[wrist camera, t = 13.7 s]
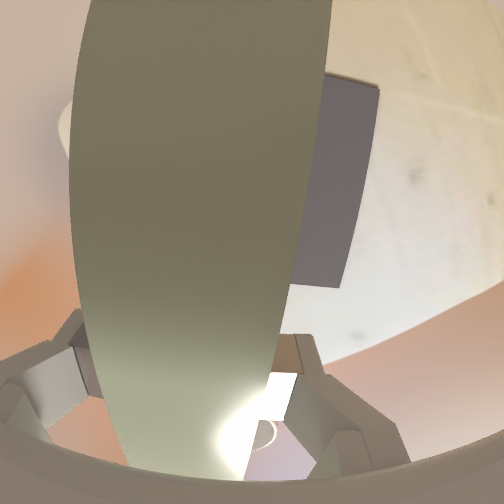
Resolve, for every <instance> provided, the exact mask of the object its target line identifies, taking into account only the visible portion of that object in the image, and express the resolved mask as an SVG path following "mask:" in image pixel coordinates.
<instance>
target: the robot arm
mask: <svg viewBox="0 0 504 504" xmlns="http://www.w3.org/2000/svg"><path fill="white" fill-rule="evenodd" d="M88 395H89V396H93V397H98V398H103V395H102V391H101V388H100V385H99V381H98V378H97V374H96V370H95V367H94V363H93V359H92V355H91V351H90V347H89V342H88V338H87V333H86V329H85V324H84V319H83V314H82V309H80V308H78V309H75V310H74V311H73V312H72V314H71V315H70V317H69V318H68V319H67V320H66V322H65V323H64V324H63V326H62V327H61V328H60V330H59V331H58V333H57V334H56V335H55V337H54V338H53V340H52V341H50V340H46V341H43V342H41V343H39V344H37V345H35V346H33V347H30V348H28V349H26V350H24V351H22V352H20V353H17V354H15V355H13V356H11V357H9V358H6V359H4V360H2V361H0V504H504V430H502V431H499V432H497V433H495V434H493V435H490V436H488V437H486V438H483V439H481V440H478V441H476V442H473V443H471V444H468V445H465V446H463V447H460V448H457V449H454V450H452V451H448V452H445V453H442V454H439V455H436V456H432V457H429V458H425V459H422V460H418V461H414V462H411V461H410V458H409V456H408V454H407V451H406V448H405V446H404V444H403V441H402V439H401V436H400V434H399V432H398V429H397V427H396V425H395V423H393V422H392V421H391V420H389V419H388V418H387V417H385V416H384V415H383V414H381V413H380V412H378V411H377V410H376V409H375V408H373V407H372V406H371V405H369V404H368V403H367V402H365V401H364V400H363V399H362V398H360V397H359V396H358V395H356V394H355V393H354V392H352V391H351V390H350V389H348V388H347V387H346V386H345V385H343V384H342V383H340V382H339V381H338V380H337V379H336V378H334V377H333V376H332V375H330V374H325V372H324V369H323V366H322V363H321V360H320V356H319V353H318V350H317V347H316V344H315V341H314V338H313V336H312V335H311V334H279V338H278V342H277V346H276V351H275V355H274V360H273V364H272V368H271V373H270V377H269V381H268V385H267V389H266V393H265V397H264V402H263V406H262V410H261V414H260V417H259V419H268V420H283V422H284V423H285V425H286V426H287V427H288V429H289V430H290V431H291V432H292V433H293V435H294V436H295V437H296V438H297V439H298V441H299V442H300V443H301V444H302V445H303V446H304V448H305V449H306V450H307V451H308V452H309V453H310V455H311V456H312V457H313V458H314V459H315V461H316V462H317V464H316V465H315V467H314V468H313V470H312V471H311V473H310V474H309V476H308V477H307V479H304V480H287V481H239V480H220V479H208V478H197V477H188V476H181V475H173V474H167V473H161V472H155V471H149V470H144V469H139V468H134V467H130V466H125V465H120V464H117V463H113V462H109V461H105V460H101V459H98V458H94V457H90V456H87V455H84V454H81V453H78V452H75V451H72V450H69V449H66V448H63V447H60V446H57V445H55V444H54V442H53V441H52V439H51V438H50V436H49V435H48V433H47V431H46V429H48V428H49V427H50V426H51V425H53V424H54V423H55V422H57V421H58V420H59V419H61V418H62V417H63V416H64V415H66V414H67V413H68V412H69V411H71V410H72V409H73V408H75V407H76V406H77V405H79V404H80V403H81V402H82V401H84V400H85V399H86V398H88ZM103 399H104V398H103Z"/></svg>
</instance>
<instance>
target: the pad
mask: <svg viewBox="0 0 504 504" xmlns="http://www.w3.org/2000/svg"><path fill="white" fill-rule="evenodd" d="M379 93H380V89H376V88H373V87H369V86H366V85H362V84H358V83H355V82H351V81H347V80H342V79H338V78H334V77H329V76H325V75H324V81H323V89H322V96H321V104H320V111H319V118H318V125H317V132H316V139H315V145H314V152H313V158H312V165H311V171H310V177H309V183H308V189H307V195H306V201H305V206H304V212H303V218H302V223H301V229H300V234H299V240H298V245H297V250H296V255H295V261H294V266H293V271H292V276H291V281H290V284H298V285H309V286H320V287H331V288H339V287H340V283H341V280H342V276H343V272H344V269H345V265H346V261H347V257H348V254H349V250H350V246H351V242H352V238H353V234H354V229H355V225H356V221H357V217H358V212H359V208H360V203H361V198H362V194H363V189H364V184H365V179H366V174H367V169H368V163H369V158H370V152H371V147H372V141H373V135H374V128H375V122H376V115H377V108H378V101H379Z"/></svg>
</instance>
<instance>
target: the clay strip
mask: <svg viewBox="0 0 504 504" xmlns="http://www.w3.org/2000/svg"><path fill="white" fill-rule="evenodd" d="M331 8H332V0H91V4H90V8H89V12H88V15H87V20H86V24H85V28H84V33H83V38H82V43H81V48H80V53H79V59H78V65H77V72H76V79H75V86H74V95H73V104H72V115H71V129H70V152H69V193H70V216H71V231H72V243H73V252H74V261H75V269H76V277H77V284H78V291H79V297H80V302H81V308H82V314H83V319H84V324H85V329H86V333H87V338H88V342H89V347H90V351H91V355H92V359H93V363H94V367H95V370H96V374H97V378H98V381H99V385H100V388H101V391H102V395H103V398H104V401H105V404H106V407H107V410H108V413H109V416H110V419H111V422H112V425H113V427H114V430H115V433H116V435H117V438H118V441H119V443H120V446H121V448H122V451H123V453H124V456H125V458H126V460H127V463H128V465H129V466H130V467H134V468H139V469H144V470H149V471H155V472H161V473H167V474H173V475H181V476H188V477H197V478H208V479H220V480H239V481H243V477H244V473H245V470H246V466H247V463H248V459H249V456H250V452H251V448H252V444H253V441H254V437H255V433H256V429H257V425H258V421H259V417H260V414H261V410H262V406H263V402H264V397H265V393H266V389H267V385H268V381H269V377H270V373H271V368H272V364H273V360H274V355H275V351H276V346H277V342H278V338H279V333H280V328H281V324H282V319H283V315H284V310H285V305H286V300H287V296H288V291H289V286H290V281H291V276H292V271H293V266H294V261H295V255H296V250H297V245H298V240H299V234H300V229H301V223H302V218H303V212H304V206H305V201H306V195H307V189H308V183H309V177H310V171H311V165H312V158H313V152H314V145H315V139H316V132H317V125H318V118H319V111H320V104H321V96H322V89H323V81H324V73H325V65H326V56H327V47H328V38H329V29H330V19H331Z"/></svg>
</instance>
